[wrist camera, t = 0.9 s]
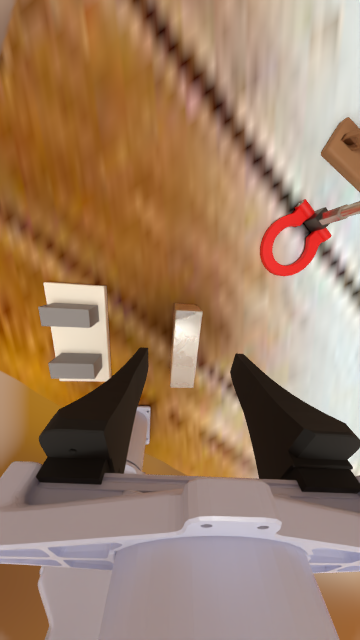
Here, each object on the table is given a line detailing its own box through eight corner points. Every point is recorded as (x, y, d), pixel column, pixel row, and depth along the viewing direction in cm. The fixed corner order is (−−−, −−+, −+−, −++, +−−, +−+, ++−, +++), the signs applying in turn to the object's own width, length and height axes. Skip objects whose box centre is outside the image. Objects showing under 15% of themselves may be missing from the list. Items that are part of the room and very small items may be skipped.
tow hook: (280, 286, 26) (328, 239, 24) (372, 304, 14) (483, 213, 12) (247, 250, 24) (296, 195, 22) (321, 234, 12) (444, 112, 10)
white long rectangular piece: (189, 368, 29) (193, 387, 25) (169, 368, 29) (170, 387, 24) (195, 304, 26) (202, 311, 21) (174, 303, 26) (176, 310, 21)
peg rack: (111, 377, 28) (102, 394, 24) (63, 377, 28) (46, 394, 24) (106, 285, 24) (94, 288, 20) (48, 282, 23) (25, 284, 19)
